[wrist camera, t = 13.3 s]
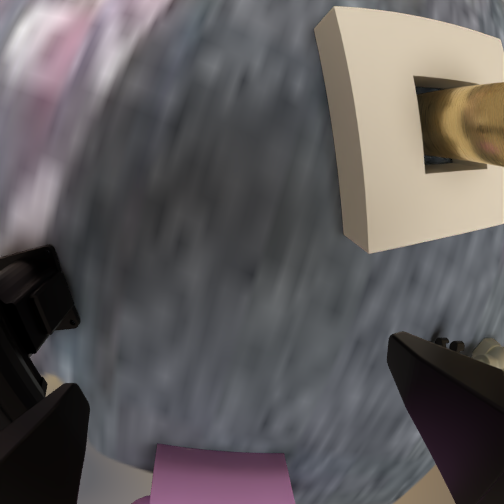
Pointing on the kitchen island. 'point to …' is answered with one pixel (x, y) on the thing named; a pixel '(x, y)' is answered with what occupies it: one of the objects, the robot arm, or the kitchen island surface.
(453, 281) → the kitchen island surface
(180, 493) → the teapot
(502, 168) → the jig plate
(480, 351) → the valve
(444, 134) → the brass bushing
